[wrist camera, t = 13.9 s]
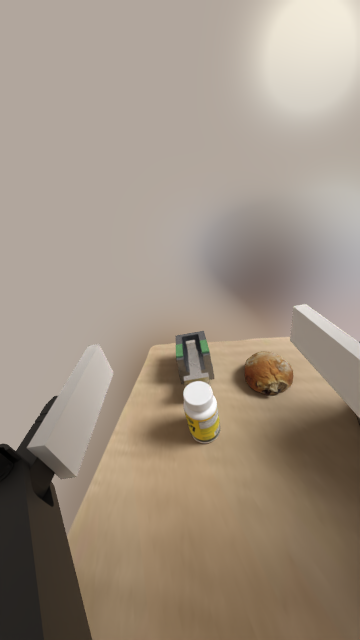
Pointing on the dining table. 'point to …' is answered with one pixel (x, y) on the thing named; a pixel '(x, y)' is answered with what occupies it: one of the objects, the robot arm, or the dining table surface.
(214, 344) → the dining table surface
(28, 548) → the robot arm
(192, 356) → the plunger
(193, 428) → the supplement bottle
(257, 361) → the bread roll
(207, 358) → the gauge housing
